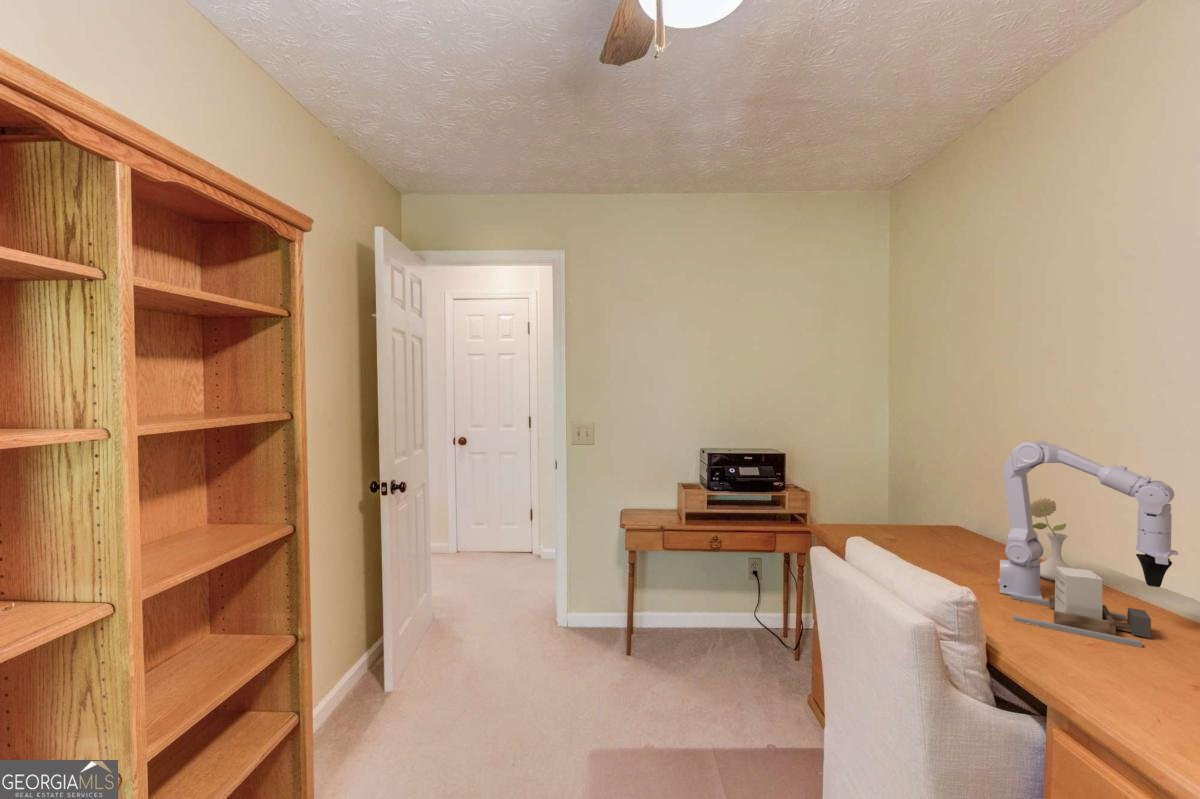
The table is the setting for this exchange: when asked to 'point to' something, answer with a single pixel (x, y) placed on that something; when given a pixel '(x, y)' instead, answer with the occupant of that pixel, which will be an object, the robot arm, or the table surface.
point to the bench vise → (1105, 621)
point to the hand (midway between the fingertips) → (1153, 585)
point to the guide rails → (1073, 629)
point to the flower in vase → (1045, 509)
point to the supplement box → (1078, 592)
